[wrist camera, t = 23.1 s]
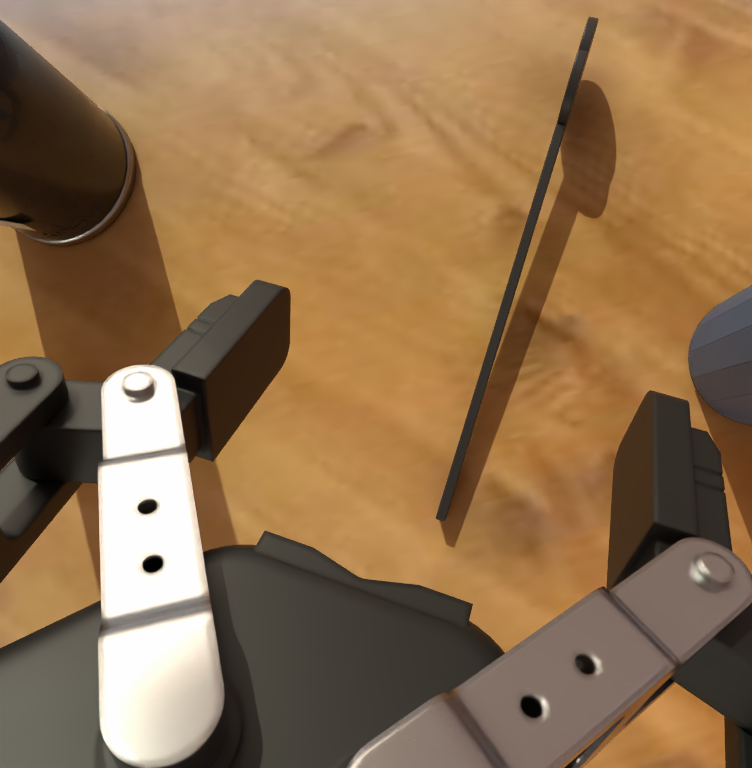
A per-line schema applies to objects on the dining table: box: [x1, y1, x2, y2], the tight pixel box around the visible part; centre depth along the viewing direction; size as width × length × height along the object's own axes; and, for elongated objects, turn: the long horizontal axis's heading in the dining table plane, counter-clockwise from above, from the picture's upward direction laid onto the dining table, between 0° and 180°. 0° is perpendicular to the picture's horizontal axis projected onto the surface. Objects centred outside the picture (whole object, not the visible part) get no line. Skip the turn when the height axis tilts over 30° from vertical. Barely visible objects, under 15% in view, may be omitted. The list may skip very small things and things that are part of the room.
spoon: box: [436, 17, 598, 521], centre depth 34 cm, size 1×4×28 cm
